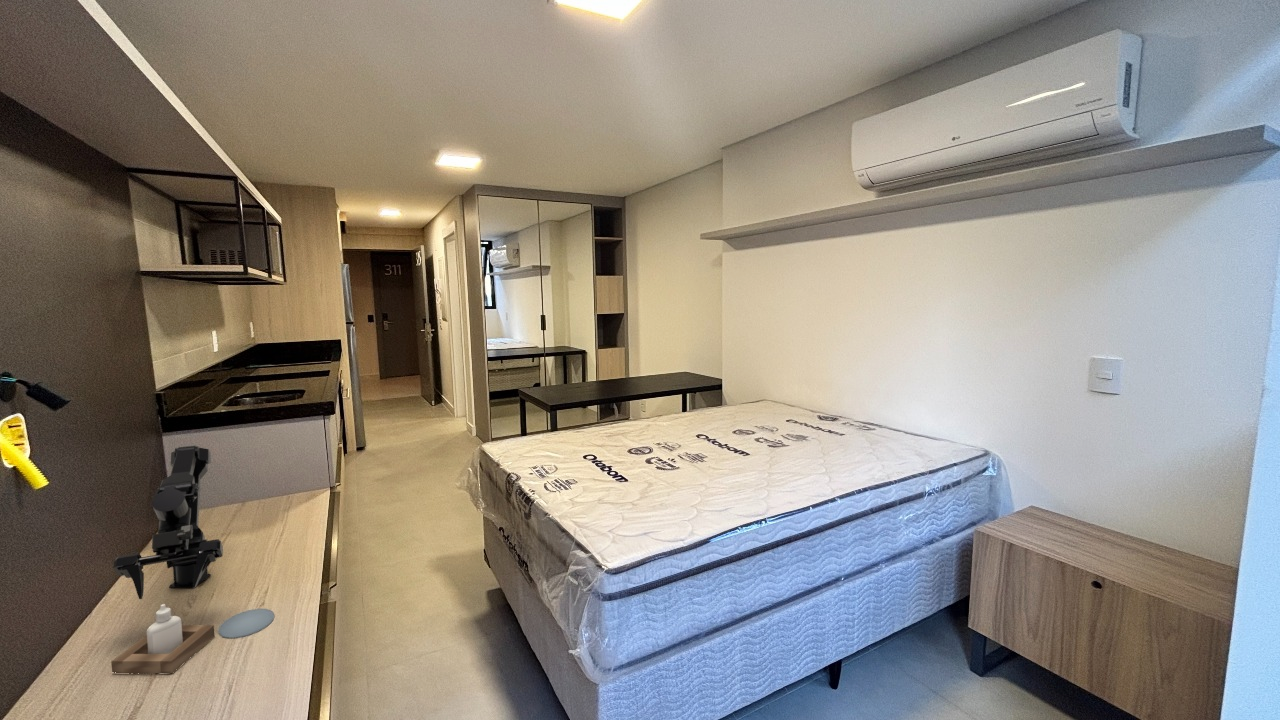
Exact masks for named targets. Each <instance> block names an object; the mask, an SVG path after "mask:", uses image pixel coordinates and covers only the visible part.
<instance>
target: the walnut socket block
mask: <svg viewBox="0 0 1280 720" xmlns="http://www.w3.org/2000/svg"><path fill="white" fill-rule="evenodd" d="M215 635H216V632H215V625H214V624H212V625H211V624H189V625H188V624H182V636H183V643H182V644H181V645H179V646H178V647H177V648H176V649H174V650H173V651H172V652H171V653H170V654H148V643H147V634H146V635H144V636H143V637H142V638H141V639H139V640H138V641H137V642H135V643H134V644H132V645H131V646H130V647H128V648H127V649H125V650H124V651H123V652H121V654H119V655H118V656H116V657H115V658H114V659H112V660H111V665H110V666H111V673H112V672H114V673H115V672H116V673H129V674H128V675H156V674H155V673H173V672H174V671H175V670H176V669H177V670H179V669H180V668H181V667H182V666H183V665H184V664H185V663H186V661H187V660H188V659H189V658H190V657H191V658H193V657H194V656H195V655H196V654H197V653H198V652H199V651H200V650H202V649H203V648H204V647H205V646H206V645H208V644H209V641H210V640H211V641H212V640H213V639H214V638H215ZM195 653H196V654H195ZM194 654H195V655H194ZM191 658H190V659H191ZM190 659H189V660H190ZM189 660H188V661H189ZM188 661H187V662H188ZM184 662H185V663H184ZM183 663H184V664H183ZM182 664H183V665H182ZM181 665H182V666H181ZM180 666H181V667H180ZM179 667H180V668H179ZM178 668H179V669H178ZM177 670H176V671H177ZM176 671H175V672H176ZM175 672H174V673H175ZM131 673H133V674H131ZM138 673H139V674H138ZM152 673H153V674H152ZM174 673H173V674H174Z"/></svg>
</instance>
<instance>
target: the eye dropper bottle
mask: <svg viewBox="0 0 1280 720" xmlns="http://www.w3.org/2000/svg"><path fill="white" fill-rule="evenodd" d="M159 607H160V608H159V609H158V610H157V611H156V612H155V620H156V621H155V622H154V623H152V624H151V625H150V626H149V627H148V628H147V630H146V635H147V643H148V654H170V653H171V652H172V651H173V650H174V649H176V648H177V647H178V646H179V645H181V644H182V643H183V636H182V625H183V624H182V619H181V617H180V616H178V615H172V609H171V608H170V607H167V606H166V604H165V603H163V604H160V606H159Z"/></svg>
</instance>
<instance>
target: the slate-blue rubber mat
mask: <svg viewBox="0 0 1280 720" xmlns="http://www.w3.org/2000/svg"><path fill="white" fill-rule="evenodd" d="M274 619H275V613H274V611H273V610H271V609H268V608H254V609H250V610H249V609H248V610H245V611H241V612H238V613H237V614H234V615H232V616H230V617H229V618H227V619H226V620H223V622H222V623H221V624H220V625H219V627H218V629H217V630H218V631H217V632H218V635H219V636H220V637H221V636H222V638H225V639H239V638H245V637H249V636H251V635H253V634H256V633H258V632H260V631H262V630H264V629H266V628H267V627H268V626H269V625H271V624H272V622H273V621H274Z"/></svg>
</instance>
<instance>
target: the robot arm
mask: <svg viewBox="0 0 1280 720" xmlns="http://www.w3.org/2000/svg"><path fill="white" fill-rule="evenodd" d="M211 454H212V453H211V451H210V449H208V448H203V447H200V446H198V445H197V446H196V445H188V446H186V445H185V446H179V447H177V448H175V449H174V450H173V451H172V452H171V453H170V466H171V467H172V469H171V471H170V472H171V473H170V475H169V476H166V478H163V479H162V480H161V483H160V485H159V487H157V488H156V490H155V493H154V494H153V497H152V500H151V506H152V508H153V511H154V513H155V514H156V517H157V519H158V520H159V522H158V523H159V524H158V531H157V533H155V534H152V536H151V537H152V539H151V549H152V553H154V555H149V556H143V557H142V555H141V554H140V552H136V553H128V554H123V555H119V556H117V557H116V558H115V559H114V561H113V565H112V566H113V567H112V568H113V570H114V571H115V572H116V573H117V575H118V576H120V577H123V576H124V577H125V579H126V578H127V579H129V578H130V579H131V580H132V583H133V585H134V588H135V591H136V594H137V596H138V599H139V600H142V599H143V597H144V590H145V589H144V583H145V582H144V581H145V573H144V571H143V569H144V566H148V565H154V564H160V563H166V568H167V569H171V568H172V574H173V582H172V583H171V584H169V586H168V587H169V588H170V589H196V588H197V586H198V585H200V584H202V583H203V582H204V581H205V580H206V579H208V578H210V577H211V573H208V567H209V566H210V565H211V563H214V562H216V560H217V559H219V558H222V557H223V556H224V554H223V553H224V547H223V543H222V540H220V539H218V538H216V539H211V540H208V539H206V536H205V534H204V531H203V530H201V528H200V526H199V517H200V494H201V480H202V479H203V477H204V476H205V475H206V474H207V473H208V470H209V465H210V464H211V462H212V455H211Z"/></svg>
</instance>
